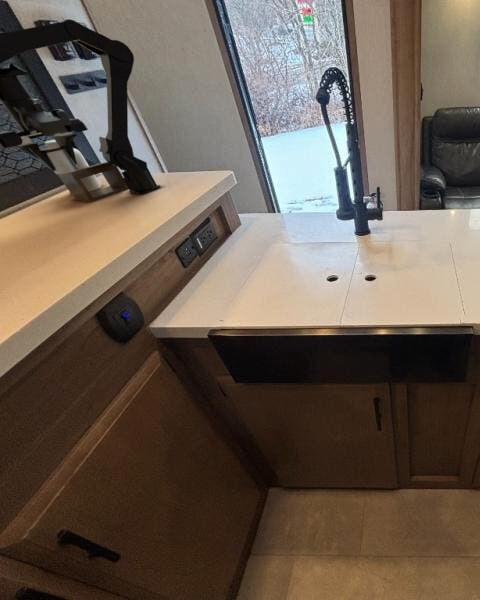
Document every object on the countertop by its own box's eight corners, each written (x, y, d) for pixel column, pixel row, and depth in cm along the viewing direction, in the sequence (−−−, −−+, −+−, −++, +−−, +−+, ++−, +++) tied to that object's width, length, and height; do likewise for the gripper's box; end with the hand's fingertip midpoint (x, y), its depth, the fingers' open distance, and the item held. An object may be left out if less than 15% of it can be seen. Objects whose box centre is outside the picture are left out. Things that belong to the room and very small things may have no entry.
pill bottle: (106, 187, 106) (75, 138, 97) (78, 195, 101) (42, 144, 92) (96, 184, 110) (65, 136, 101) (68, 192, 105) (33, 142, 96)
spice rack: (75, 199, 99) (54, 170, 93) (114, 186, 107) (97, 159, 102) (90, 201, 96) (70, 172, 91) (129, 188, 105) (113, 160, 99)
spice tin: (72, 167, 90) (56, 144, 86) (83, 168, 88) (67, 145, 84) (51, 174, 86) (33, 150, 82) (62, 175, 84) (45, 150, 81)
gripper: (-15, 106, 67) (42, 181, 77) (79, 93, 81) (118, 158, 90) (-41, 107, 71) (16, 178, 81) (53, 94, 84) (93, 157, 94)
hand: (64, 167), depth 86 cm, fingers closed on spice tin, 5 cm apart
